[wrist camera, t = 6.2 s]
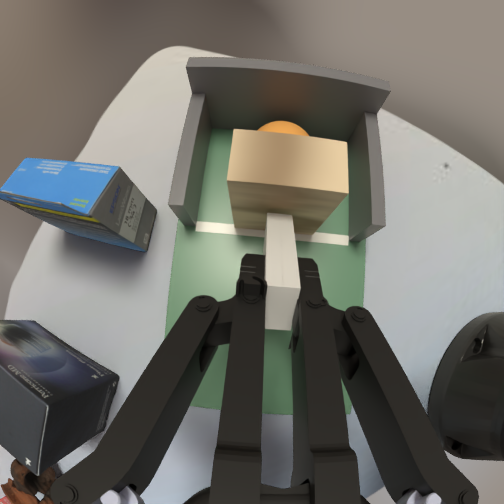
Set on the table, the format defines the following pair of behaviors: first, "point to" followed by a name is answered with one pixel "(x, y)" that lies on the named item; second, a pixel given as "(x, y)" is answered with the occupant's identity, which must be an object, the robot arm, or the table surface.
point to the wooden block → (285, 178)
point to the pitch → (252, 241)
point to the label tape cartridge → (83, 200)
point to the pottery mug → (28, 485)
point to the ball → (283, 128)
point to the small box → (48, 395)
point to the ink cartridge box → (4, 500)
